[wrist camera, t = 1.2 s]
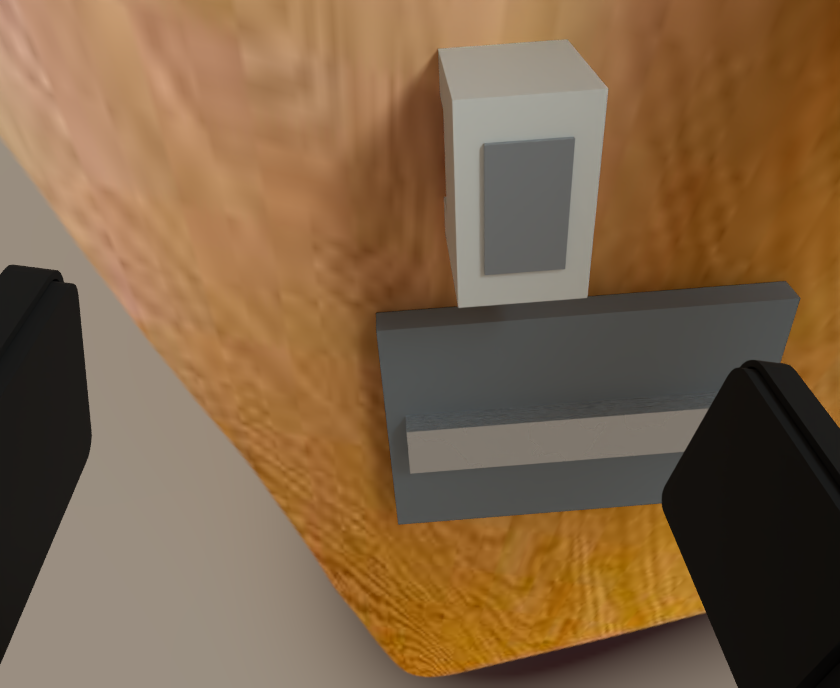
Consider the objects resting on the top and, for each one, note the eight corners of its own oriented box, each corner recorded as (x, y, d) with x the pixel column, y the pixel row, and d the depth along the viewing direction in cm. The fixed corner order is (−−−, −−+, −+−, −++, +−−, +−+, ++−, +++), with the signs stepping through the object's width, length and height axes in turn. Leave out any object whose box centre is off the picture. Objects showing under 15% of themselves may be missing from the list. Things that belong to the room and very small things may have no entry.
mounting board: (785, 281, 35) (800, 298, 34) (727, 477, 44) (737, 497, 42) (376, 313, 35) (376, 331, 34) (397, 504, 43) (398, 524, 42)
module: (567, 39, 28) (609, 90, 23) (555, 225, 33) (588, 300, 28) (438, 48, 28) (453, 102, 23) (445, 233, 33) (458, 310, 28)
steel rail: (753, 388, 37) (763, 403, 36) (740, 430, 39) (750, 446, 38) (405, 416, 37) (406, 432, 36) (409, 457, 39) (410, 473, 38)
